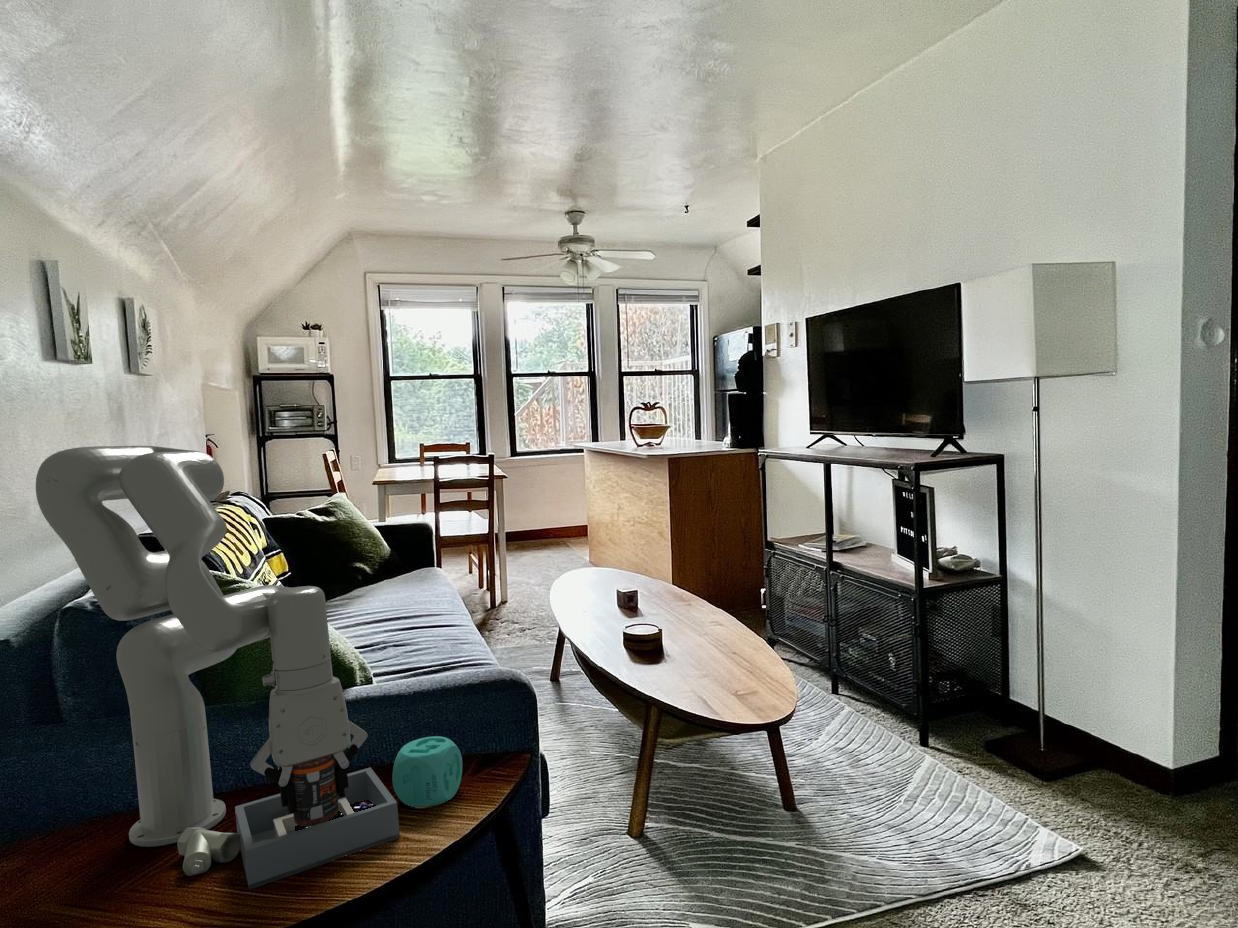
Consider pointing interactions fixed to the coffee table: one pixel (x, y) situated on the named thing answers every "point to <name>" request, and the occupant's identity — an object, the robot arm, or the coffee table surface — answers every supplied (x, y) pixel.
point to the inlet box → (313, 831)
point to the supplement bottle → (314, 791)
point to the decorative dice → (427, 771)
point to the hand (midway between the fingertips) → (316, 800)
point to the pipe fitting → (206, 848)
